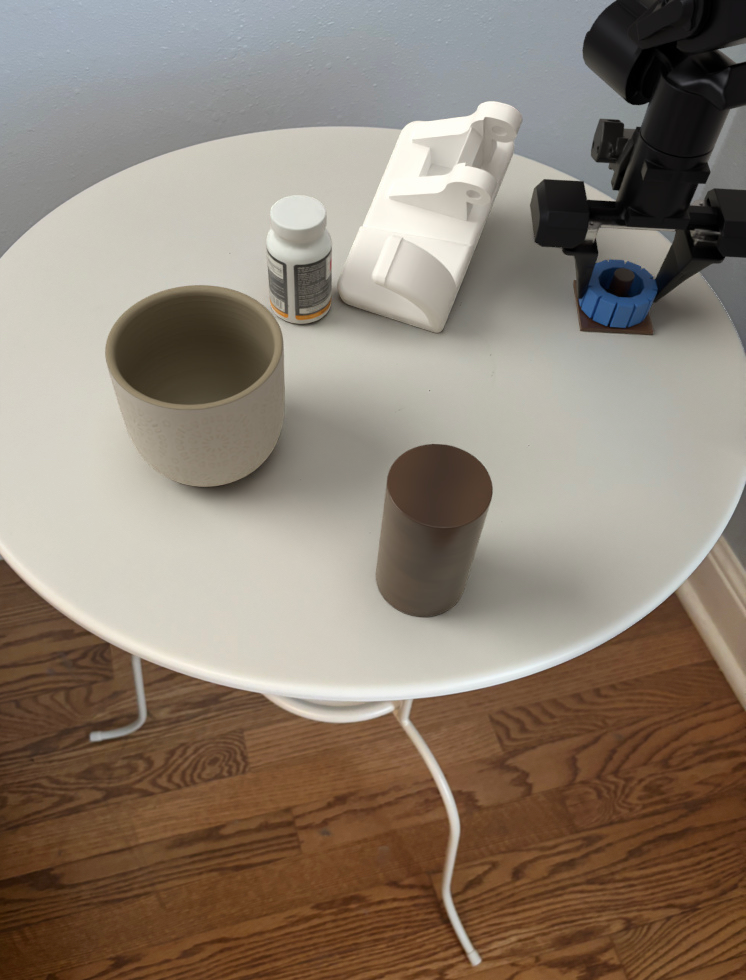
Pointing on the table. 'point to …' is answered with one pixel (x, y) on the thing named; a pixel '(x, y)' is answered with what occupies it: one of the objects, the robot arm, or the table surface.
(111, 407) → the table surface
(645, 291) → the tape roll
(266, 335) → the planter
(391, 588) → the pedestal
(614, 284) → the peg stand
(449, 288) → the tape dispenser
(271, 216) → the pill bottle
